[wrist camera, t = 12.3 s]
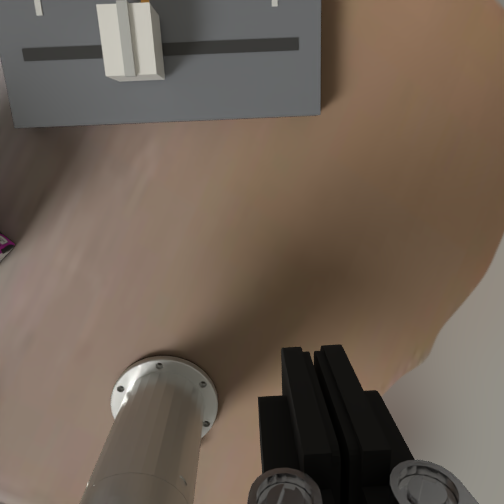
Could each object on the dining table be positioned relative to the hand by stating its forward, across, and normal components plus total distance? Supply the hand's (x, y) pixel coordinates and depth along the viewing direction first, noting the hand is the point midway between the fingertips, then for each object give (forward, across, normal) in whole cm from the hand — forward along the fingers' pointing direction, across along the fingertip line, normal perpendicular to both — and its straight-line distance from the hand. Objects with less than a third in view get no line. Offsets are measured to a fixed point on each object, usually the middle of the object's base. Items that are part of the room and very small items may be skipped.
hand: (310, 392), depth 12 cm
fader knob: (+30, +10, -14) cm, 34 cm away
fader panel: (+33, +8, -14) cm, 37 cm away
